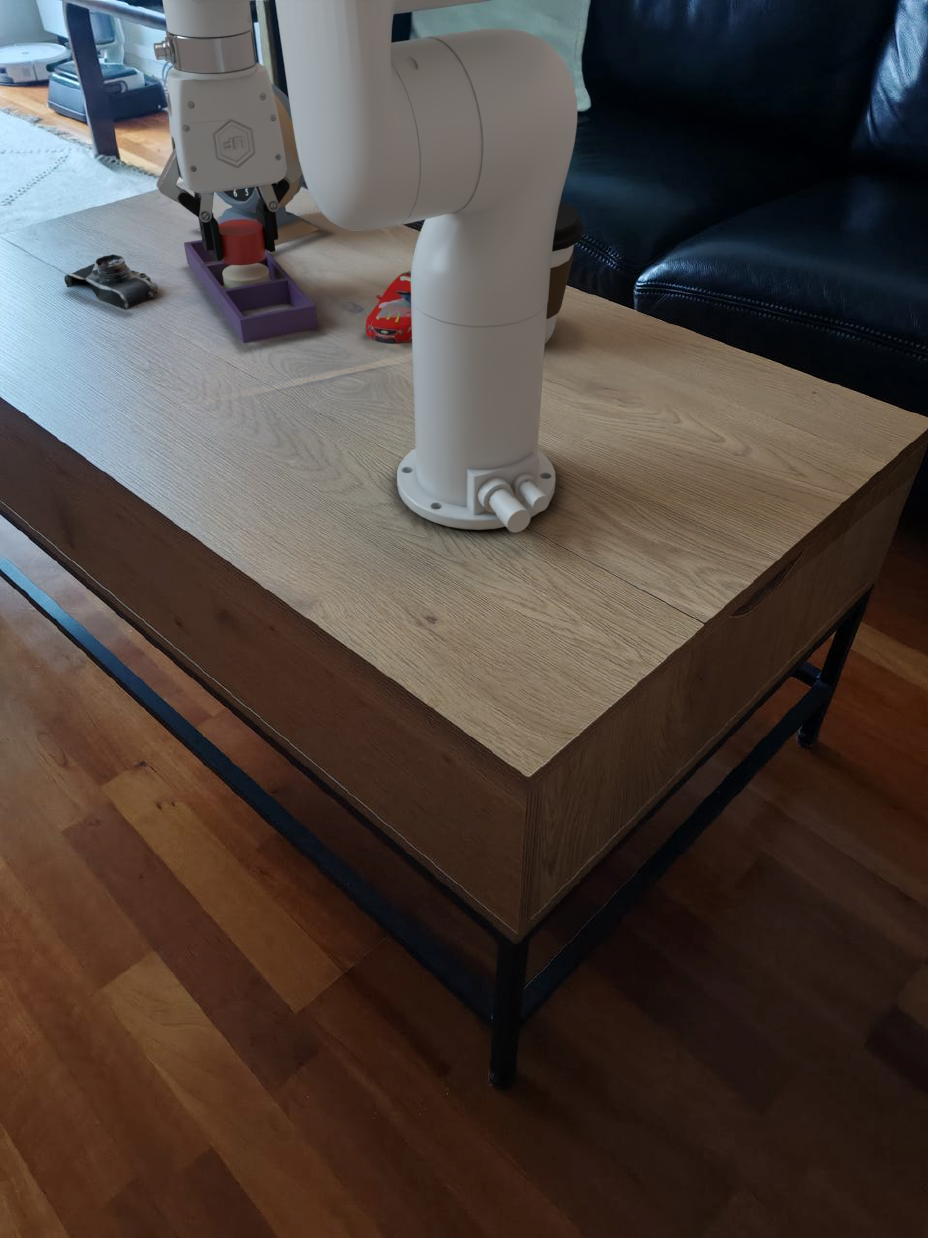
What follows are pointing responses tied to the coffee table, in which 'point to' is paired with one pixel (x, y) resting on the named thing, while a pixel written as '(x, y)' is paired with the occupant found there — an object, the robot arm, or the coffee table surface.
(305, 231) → the alarm clock
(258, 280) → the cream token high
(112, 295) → the camera
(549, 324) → the coffee cup
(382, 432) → the coffee table surface
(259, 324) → the board
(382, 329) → the race car
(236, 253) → the cylinder
